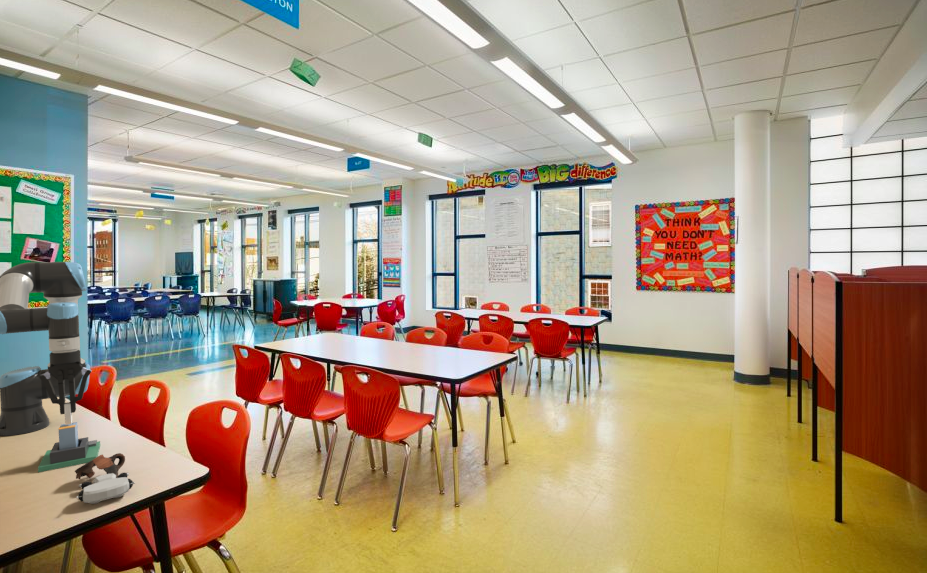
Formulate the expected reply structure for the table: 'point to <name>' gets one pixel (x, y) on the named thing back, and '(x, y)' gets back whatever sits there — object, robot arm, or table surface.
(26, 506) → the table surface
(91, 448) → the circuit board
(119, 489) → the robot toy
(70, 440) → the plug
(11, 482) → the table surface
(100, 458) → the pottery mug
